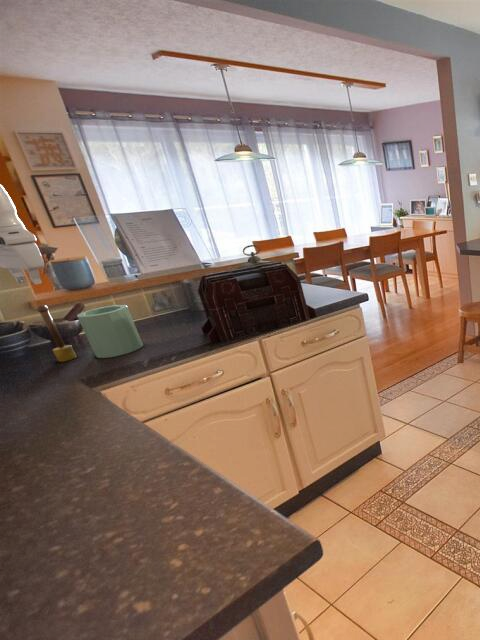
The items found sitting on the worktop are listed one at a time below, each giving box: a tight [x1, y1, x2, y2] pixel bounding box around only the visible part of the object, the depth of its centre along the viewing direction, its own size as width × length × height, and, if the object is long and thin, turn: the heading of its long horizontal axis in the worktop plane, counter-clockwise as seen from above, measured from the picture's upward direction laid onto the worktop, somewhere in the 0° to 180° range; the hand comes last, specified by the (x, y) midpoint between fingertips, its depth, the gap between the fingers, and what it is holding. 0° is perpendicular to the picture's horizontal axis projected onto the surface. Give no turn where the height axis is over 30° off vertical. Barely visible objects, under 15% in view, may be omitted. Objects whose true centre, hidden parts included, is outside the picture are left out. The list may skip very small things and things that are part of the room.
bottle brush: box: [36, 304, 77, 363], centre depth 137 cm, size 4×4×18 cm
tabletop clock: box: [236, 244, 274, 270], centre depth 185 cm, size 14×9×25 cm, turn 147°
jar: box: [76, 304, 144, 359], centre depth 142 cm, size 12×12×14 cm
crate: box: [197, 261, 317, 344], centre depth 157 cm, size 35×19×21 cm, turn 133°
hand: (30, 283), depth 131 cm, fingers open, 8 cm apart
